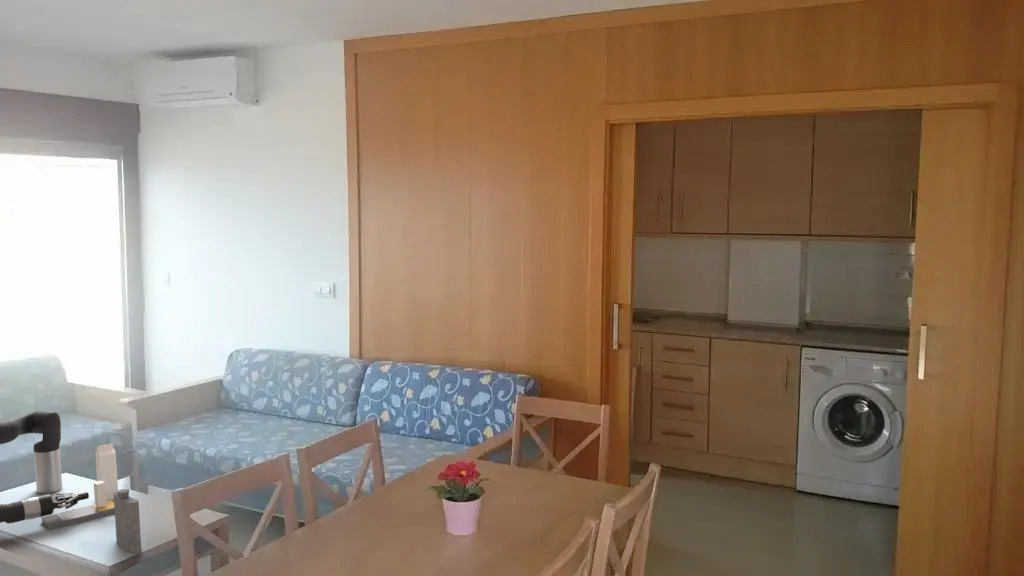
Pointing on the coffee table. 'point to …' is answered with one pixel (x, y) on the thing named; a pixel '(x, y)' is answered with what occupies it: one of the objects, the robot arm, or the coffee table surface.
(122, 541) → the hip flask
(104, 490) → the block
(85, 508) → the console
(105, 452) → the milk
